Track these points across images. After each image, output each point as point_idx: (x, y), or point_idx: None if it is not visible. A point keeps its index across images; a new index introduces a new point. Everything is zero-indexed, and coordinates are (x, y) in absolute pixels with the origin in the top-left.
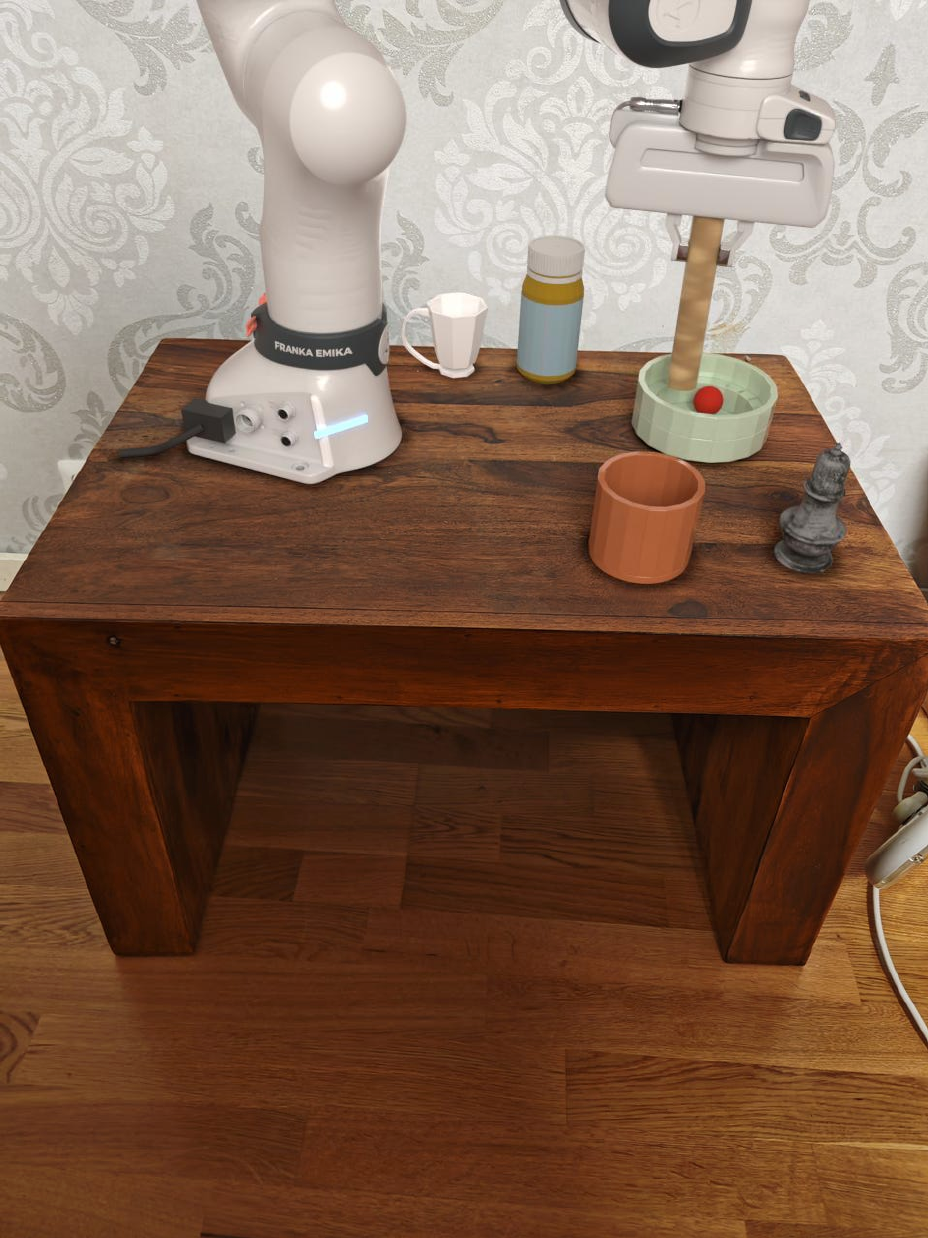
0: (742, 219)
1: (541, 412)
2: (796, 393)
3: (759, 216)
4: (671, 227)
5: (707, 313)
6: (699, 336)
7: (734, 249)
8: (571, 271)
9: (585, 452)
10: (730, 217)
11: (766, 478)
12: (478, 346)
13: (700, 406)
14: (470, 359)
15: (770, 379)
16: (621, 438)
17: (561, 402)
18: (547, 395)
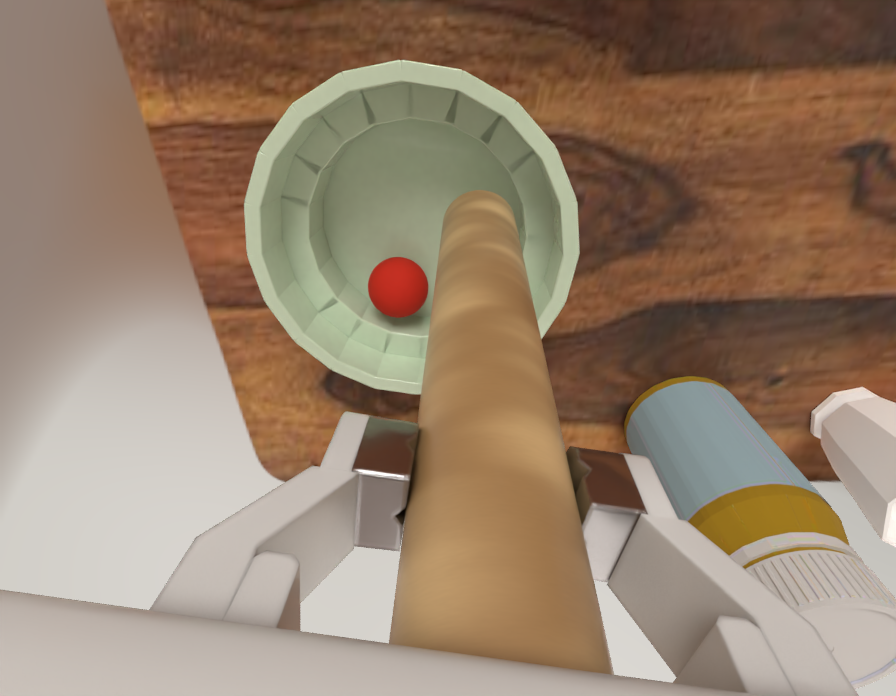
0: (236, 629)
1: (724, 277)
2: (232, 375)
3: (39, 650)
4: (759, 604)
5: (439, 299)
6: (459, 252)
7: (328, 468)
8: (777, 565)
9: (673, 121)
10: (351, 650)
11: (290, 41)
12: (845, 438)
13: (416, 264)
14: (853, 412)
15: (262, 284)
16: (581, 188)
17: (672, 317)
18: (693, 339)
